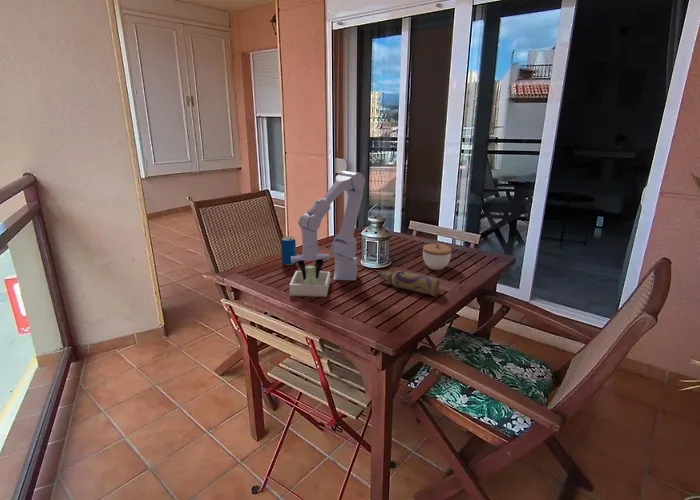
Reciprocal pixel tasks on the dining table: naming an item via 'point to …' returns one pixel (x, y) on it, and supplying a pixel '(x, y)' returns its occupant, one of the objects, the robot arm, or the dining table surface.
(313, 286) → the bin
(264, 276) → the dining table surface
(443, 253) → the lidded bowl
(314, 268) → the green cylinder
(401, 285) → the decorative bottle
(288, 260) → the beverage can
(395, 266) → the dining table surface
